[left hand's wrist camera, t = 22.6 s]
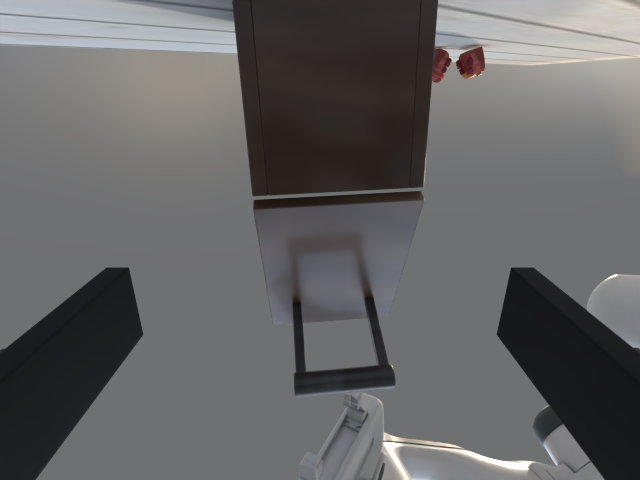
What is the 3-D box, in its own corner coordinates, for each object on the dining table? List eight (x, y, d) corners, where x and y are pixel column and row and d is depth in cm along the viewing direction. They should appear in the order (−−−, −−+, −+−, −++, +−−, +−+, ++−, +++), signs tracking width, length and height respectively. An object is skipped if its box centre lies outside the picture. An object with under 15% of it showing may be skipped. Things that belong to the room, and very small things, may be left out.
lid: (386, 308, 32) (409, 400, 27) (273, 317, 31) (274, 413, 26) (421, 190, 22) (468, 301, 17) (253, 199, 21) (248, 319, 16)
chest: (376, 23, 30) (373, 153, 34) (252, 25, 29) (264, 158, 33) (440, -26, 18) (423, 187, 21) (229, -23, 17) (252, 196, 21)
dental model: (472, 82, 54) (418, 84, 54) (476, 51, 52) (420, 52, 52) (488, 80, 48) (427, 81, 49) (492, 44, 47) (430, 46, 47)
